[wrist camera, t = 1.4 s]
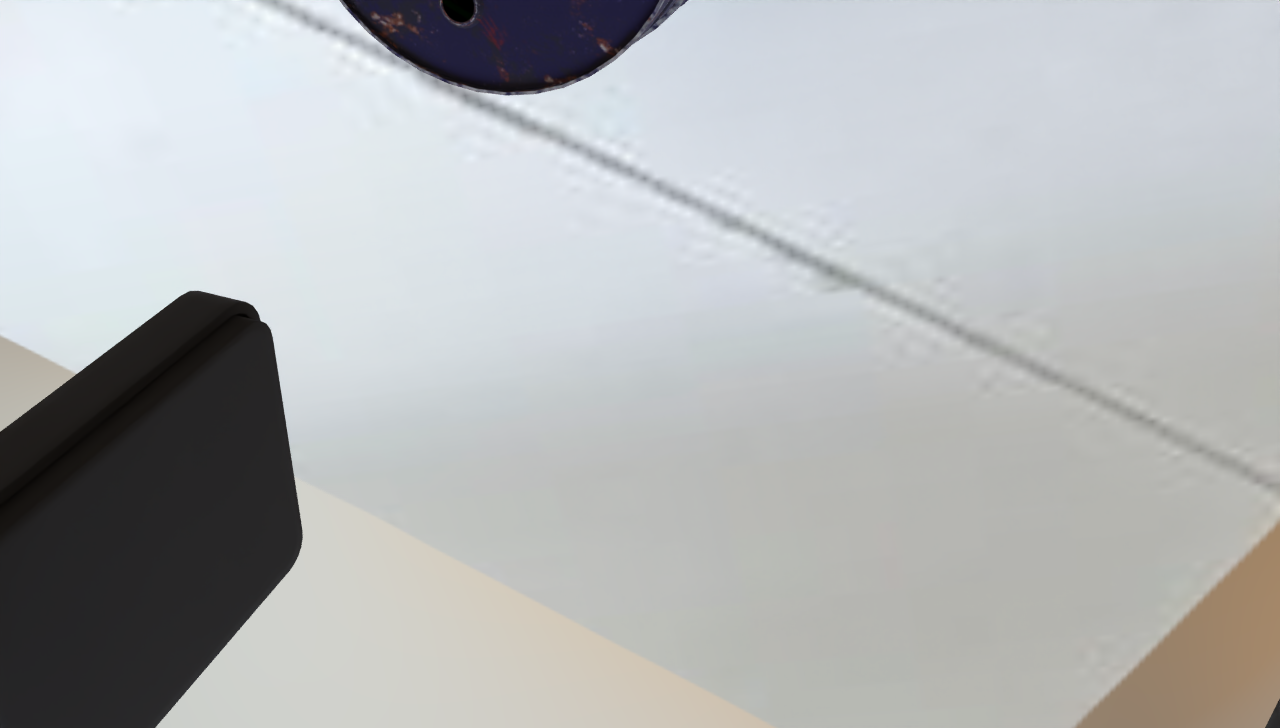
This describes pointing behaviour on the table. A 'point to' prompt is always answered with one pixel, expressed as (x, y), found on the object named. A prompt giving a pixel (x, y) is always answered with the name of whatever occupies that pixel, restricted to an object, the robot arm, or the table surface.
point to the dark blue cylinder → (510, 38)
